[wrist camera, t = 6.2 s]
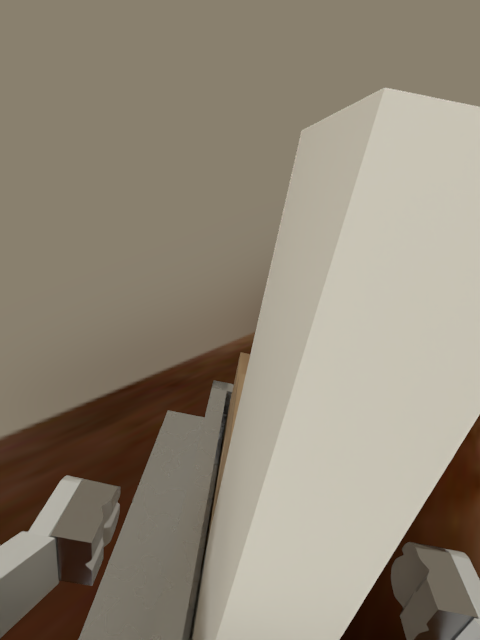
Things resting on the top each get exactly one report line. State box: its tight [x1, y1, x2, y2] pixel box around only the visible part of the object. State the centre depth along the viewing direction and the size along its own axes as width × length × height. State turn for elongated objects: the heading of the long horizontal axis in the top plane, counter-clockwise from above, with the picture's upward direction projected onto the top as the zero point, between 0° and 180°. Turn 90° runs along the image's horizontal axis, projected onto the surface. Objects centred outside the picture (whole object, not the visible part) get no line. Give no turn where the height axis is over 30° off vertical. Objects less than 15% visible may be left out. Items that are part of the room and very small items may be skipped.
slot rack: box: [79, 381, 234, 640], centre depth 19 cm, size 12×25×6 cm, turn 175°
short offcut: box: [215, 353, 250, 483], centre depth 25 cm, size 2×5×8 cm, turn 175°
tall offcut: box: [201, 373, 246, 569], centre depth 20 cm, size 2×5×10 cm, turn 175°
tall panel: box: [189, 88, 480, 640], centre depth 11 cm, size 2×8×22 cm, turn 175°
